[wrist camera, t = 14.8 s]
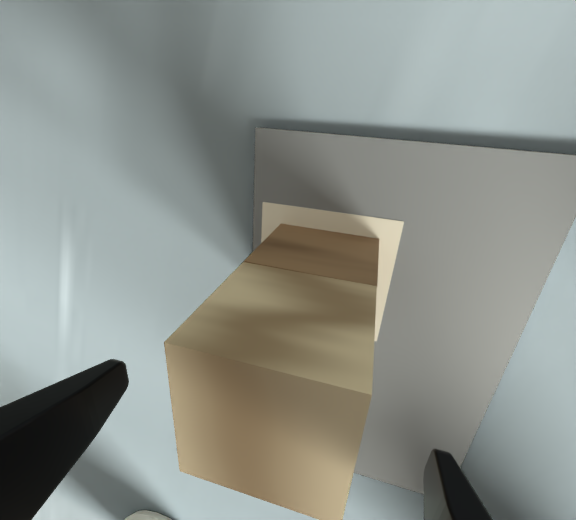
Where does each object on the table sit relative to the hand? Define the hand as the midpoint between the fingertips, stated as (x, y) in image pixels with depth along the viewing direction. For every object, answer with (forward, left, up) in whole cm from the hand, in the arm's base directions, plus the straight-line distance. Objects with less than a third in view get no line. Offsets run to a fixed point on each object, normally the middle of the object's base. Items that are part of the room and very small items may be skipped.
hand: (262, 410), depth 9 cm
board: (-3, +4, -10) cm, 11 cm away
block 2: (0, 0, -4) cm, 4 cm away
